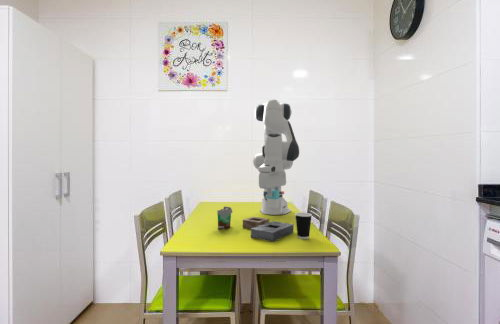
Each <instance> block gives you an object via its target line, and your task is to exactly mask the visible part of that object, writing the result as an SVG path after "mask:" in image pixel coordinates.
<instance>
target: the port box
mask: <svg viewBox="0 0 500 324" xmlns="http://www.w3.org/2000/svg"><path fill="white" fill-rule="evenodd" d="M294 227H295V226H294V223H287V222H281V221H275V220H272V221H269V223H266V224H263V225H260V226H257V227H255V228H252V229H250V238H252V237H253V238H252V239H258V240H263V241H268V242H275V241H278V240H280V239H282V238H285V237H286V236H289V235H290V234H293V233H294V229H295V228H294Z"/></svg>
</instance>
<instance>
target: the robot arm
mask: <svg viewBox="0 0 500 324" xmlns="http://www.w3.org/2000/svg"><path fill="white" fill-rule="evenodd" d="M292 112H293V111H292V107H291V105H290V104H289V103H282V102H280V101H279V100H277V99H269V100H268V101H267V102H266V103H260V104H258V105H256V106H255V110H254V117H255V119H256V120H257V121H259V122H263V124H264V128H263V129H264V135H263V136H264V143H263V144H261V148H262V150H261V151H262V152H261V153H257V154H255V155H254V157H253V160H252V163H253V166H254V168H255V169H257V170H258V172H259V174H258V186H259V188H260V189H264V190H263V198H262V201H261V209H260V210H259V212H260V213H261V214H263V215H273V216H274V215H275V216H276V215H277V216H278V215H287V214H288V213H290V212H291V211H292V208H288V206H289V203H288V201H287V200H286V199H285V198H284V197H283V195H285V191H283V190H282V187H283V186H286V184H287V174H286V171H285V170H290V169H291V168H292V166H293V165H294V161H296V160H297V159H298V158H299V156H300V147H299V145H298V144H299V143H298V141H297V140H296V136H295V133H294V131H293V127H292V125H291V122H290V121H289V120H290V119H291V116H292ZM282 134H283V135H284V136H285V141H283V136H282ZM272 190H279V207H278V208H272V207H267V191H268V193H269V197H273V193H272Z"/></svg>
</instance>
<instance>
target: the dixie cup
mask: <svg viewBox="0 0 500 324" xmlns="http://www.w3.org/2000/svg"><path fill="white" fill-rule="evenodd" d="M294 215H295V224H296V233H297V238H298V239H301V240H308V239H309V236H310V233H311V232H310V230H311V223H312V216H313V213H309V212H296V213H295V214H294Z"/></svg>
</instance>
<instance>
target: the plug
mask: <svg viewBox="0 0 500 324" xmlns="http://www.w3.org/2000/svg"><path fill="white" fill-rule="evenodd" d="M272 193H273V197H269V193H268V191H267V207H272V208H278V207H279V190H272Z"/></svg>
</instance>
